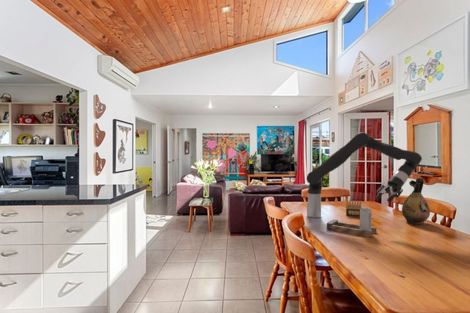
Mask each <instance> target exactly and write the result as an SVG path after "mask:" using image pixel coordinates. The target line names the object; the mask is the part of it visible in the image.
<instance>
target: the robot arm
mask: <svg viewBox="0 0 470 313" xmlns="http://www.w3.org/2000/svg"><path fill="white" fill-rule="evenodd" d="M362 147H364V148H368V149H372V150H375V151H377V152H378V153H381V154H383V155H385V156H387V157H389V158H391V159H394V160H396V161H400V160H405V161H404V162H403V164H401V166H400V167H398V169H396V171H395V172H394V174H393V175H392V176H391V177H390V178H389V179H388V181H387V185H384V184H382V185H380V186H379V188H377V190H376V193H377V195H376V196H375V199H376V200H377V201H379V200H380V199H381V198H382V196H384V195H387V194H390V195H389V196H388V197H387V198H386V201H387V203H391V202H392V201H393V200H394V199H396V198H400V196H401V194H402V192H403V191H404V189H403V186H404V185H405V184H406V183H407V181H408V179H409V177H410V176H411V175H412V173H413V172H414V171H415V170H416V169H417V167H418V166H419V165H420V163H421V162H422V160H423V159H422V155H421V154H419V153H418V152H416V151H411V150H406V149H402V148H399V147H397V146H395V145H391V144H388V143H385V142H381V141H380V140H377V139H375V138H373V137H371V136H370V135H369V134H368V133H366V132H359V133H357V134H355V135H353V137H352V138H351V139H350V140H349V141H348V142H347V143H346V144H345V145H344V146H341V148H339V149H338V150H336V151H335V152H334V153H332V154H331V155H330V156H329V157H328V158H326V160H324V162H322V163H321V164H320V165H319V166H317V167H316V168H315V169H314V170H312V171H310V172H309V173H307V175H306V182H307V183H308V189H307V203H306V217H309V218H313V219H316V218H317V219H319V218H321V217H322V190H323V187H322V186H323V178H324V177H325V176H326V175H327V174H329V173H331V172H333V171H334V170H336V169H337V168H339V167H341V166H342V165H343V164H344V163H346V161H347V160H348V159H349V158H350V157H351V156H352V155H353V154H354V153H355V152H356V151H358V150H360V149H361V148H362Z"/></svg>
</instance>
